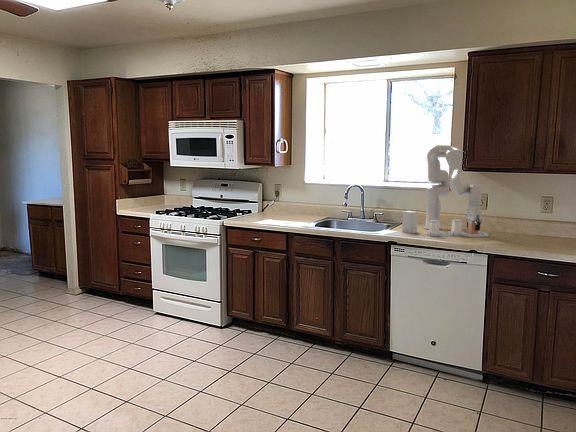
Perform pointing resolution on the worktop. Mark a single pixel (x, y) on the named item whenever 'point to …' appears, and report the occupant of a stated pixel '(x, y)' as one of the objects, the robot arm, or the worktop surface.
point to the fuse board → (450, 234)
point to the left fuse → (434, 227)
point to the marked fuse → (472, 227)
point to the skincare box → (409, 221)
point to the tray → (474, 234)
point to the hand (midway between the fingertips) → (473, 229)
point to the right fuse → (456, 227)
